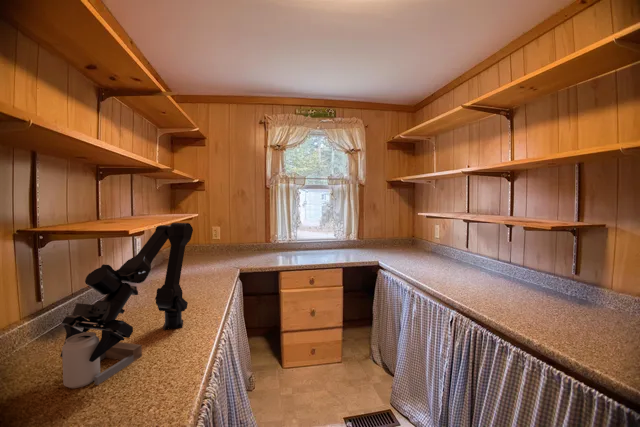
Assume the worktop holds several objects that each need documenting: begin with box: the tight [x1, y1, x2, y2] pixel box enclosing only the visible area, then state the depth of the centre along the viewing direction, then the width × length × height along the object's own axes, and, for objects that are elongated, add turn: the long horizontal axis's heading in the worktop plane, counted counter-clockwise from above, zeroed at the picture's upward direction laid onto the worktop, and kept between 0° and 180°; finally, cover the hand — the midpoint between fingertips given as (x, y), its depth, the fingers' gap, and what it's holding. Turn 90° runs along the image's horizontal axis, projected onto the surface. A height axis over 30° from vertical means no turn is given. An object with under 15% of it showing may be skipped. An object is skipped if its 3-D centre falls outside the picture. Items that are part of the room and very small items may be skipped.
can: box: [61, 331, 101, 389], centre depth 75 cm, size 8×8×12 cm
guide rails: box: [93, 352, 135, 386], centre depth 80 cm, size 11×11×2 cm
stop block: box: [106, 341, 143, 362], centre depth 87 cm, size 3×11×4 cm, turn 78°
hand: (76, 359), depth 74 cm, fingers open, 9 cm apart
